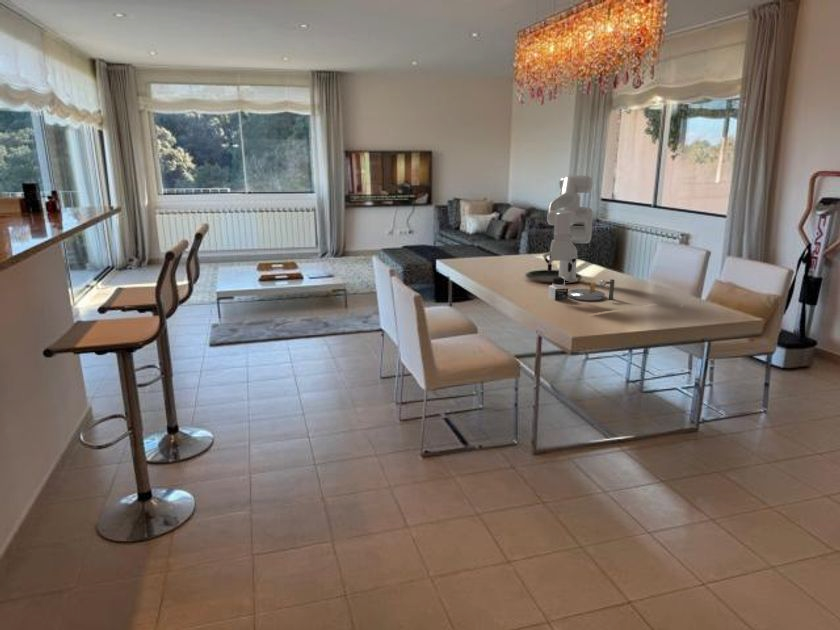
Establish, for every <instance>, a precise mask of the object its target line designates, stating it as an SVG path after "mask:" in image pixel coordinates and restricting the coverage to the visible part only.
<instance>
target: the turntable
mask: <svg viewBox="0 0 840 630" xmlns="http://www.w3.org/2000/svg"><path fill="white" fill-rule="evenodd" d="M568 297H569V298H568V299H570V298H571V299H570V300H573V299H574V300H573V301H577V300H579V301H578V302H584V301H597V302H602V301H601V300H603V299H604V298H606V293H604V292H603V291H601V290H597V289H596V282H592V283H590V287H589V288H576V289H575V288H574V289H570V290H568ZM603 301H604V300H603Z"/></svg>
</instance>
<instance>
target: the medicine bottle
mask: <svg viewBox="0 0 840 630" xmlns="http://www.w3.org/2000/svg"><path fill="white" fill-rule="evenodd" d="M568 292H569V287H567V286H566V282H565V278H564V277H560V276H559V275H558V276H554V277H552V284H551V285H549V286H548V295H547V296H548V299H551V300H553V301H565V300H566V301H567V300H568V299H569V298H568Z"/></svg>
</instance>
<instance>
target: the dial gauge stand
mask: <svg viewBox="0 0 840 630" xmlns="http://www.w3.org/2000/svg"><path fill="white" fill-rule="evenodd" d="M598 283H599V286H600V287H602V288H603V287H605V286H606V285H609V291H608V297H605V298H606V299H605V300H607V301H616V299H615V298H614V291H615V279H609V281H606V280H605V279H601V280H599V282H598Z"/></svg>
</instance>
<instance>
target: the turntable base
mask: <svg viewBox="0 0 840 630" xmlns="http://www.w3.org/2000/svg"><path fill="white" fill-rule="evenodd" d="M606 298H607V297H605V298H604V299H603V300H601V301H600V302H602V301H605V300H607V299H606ZM568 299H570V300H573V301H575V300H574V299H571V298H569V297H568ZM576 301H578V302H580V301H579V300H576ZM583 302H586V303H590V302H591V303H592V302H593V303H596V302H598V301H583Z"/></svg>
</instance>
